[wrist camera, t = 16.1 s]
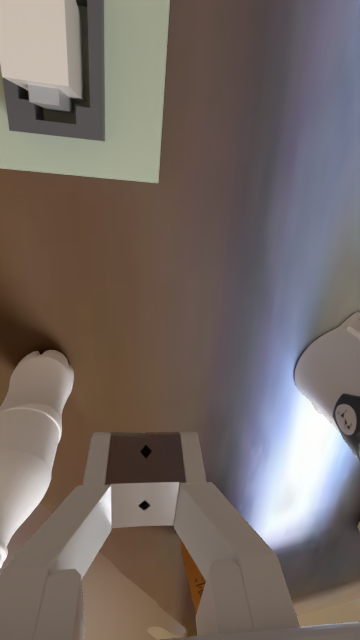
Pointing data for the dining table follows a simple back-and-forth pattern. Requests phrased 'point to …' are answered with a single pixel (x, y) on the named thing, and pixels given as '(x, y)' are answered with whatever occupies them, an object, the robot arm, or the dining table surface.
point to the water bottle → (30, 436)
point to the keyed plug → (44, 51)
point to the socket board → (98, 101)
